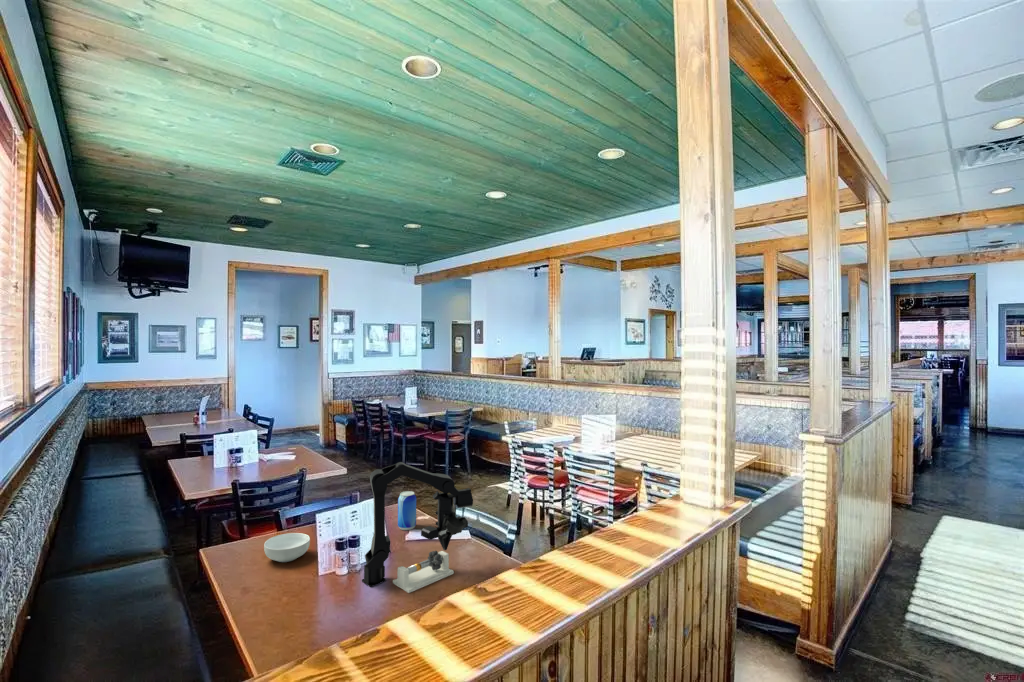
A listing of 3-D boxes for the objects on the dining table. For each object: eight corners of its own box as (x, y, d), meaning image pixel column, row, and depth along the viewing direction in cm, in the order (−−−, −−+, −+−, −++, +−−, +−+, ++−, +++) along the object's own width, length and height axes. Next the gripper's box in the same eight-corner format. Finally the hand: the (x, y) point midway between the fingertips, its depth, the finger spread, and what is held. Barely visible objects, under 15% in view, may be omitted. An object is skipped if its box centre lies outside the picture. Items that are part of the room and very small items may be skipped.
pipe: (405, 577, 174) (405, 570, 174) (400, 575, 176) (400, 568, 176) (445, 561, 187) (445, 554, 187) (441, 559, 189) (441, 552, 189)
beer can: (406, 532, 225) (406, 497, 225) (394, 528, 230) (394, 493, 230) (419, 526, 231) (420, 492, 231) (407, 522, 236) (408, 489, 236)
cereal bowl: (298, 568, 189) (298, 549, 189) (255, 567, 189) (255, 549, 189) (316, 549, 206) (316, 532, 206) (277, 548, 206) (277, 531, 206)
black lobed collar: (438, 573, 182) (438, 554, 182) (427, 567, 187) (427, 549, 187) (442, 571, 183) (442, 553, 183) (430, 565, 188) (430, 548, 188)
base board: (408, 593, 171) (408, 574, 171) (392, 583, 178) (392, 565, 178) (453, 573, 185) (453, 556, 185) (437, 565, 192) (437, 548, 192)
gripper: (439, 520, 176) (438, 564, 176) (477, 508, 190) (477, 549, 190) (420, 513, 184) (420, 555, 184) (458, 501, 197) (458, 540, 197)
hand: (445, 549), depth 189 cm, fingers closed
